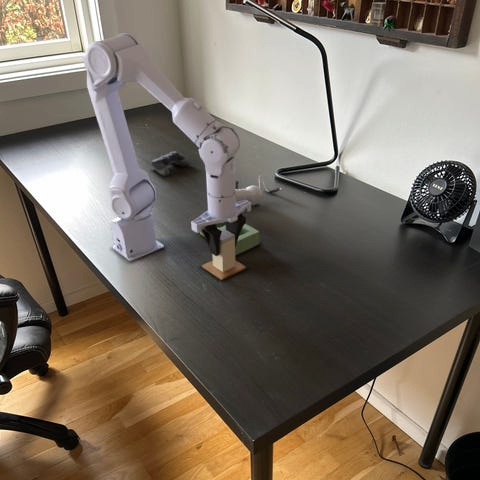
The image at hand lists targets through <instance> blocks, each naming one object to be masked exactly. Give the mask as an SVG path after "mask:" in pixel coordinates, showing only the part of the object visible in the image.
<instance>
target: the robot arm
mask: <svg viewBox="0 0 480 480" xmlns="http://www.w3.org/2000/svg"><path fill="white" fill-rule="evenodd" d="M149 55H150V54H149V52H148V50H147V48H146V47H145V46H144V45H143V44H142V43H140V42H139V41H138V39H137V38H136V37H135V36H134V35H132V34H131V33H129V32H122V33H119V34H118V35H115V36H112V37H109V38H105V39H103V40H95V41H92V42H91V43H89V45H88V46H87V48H86V50H85V51H84V54H83V55H82V61H83V65H84V67H85V71H86V87H87V91H88V95H89V97H90V100H91V104H92V107H93V111H94V113H95V117H96V121H97V124H98V127H99V130H100V133H101V137H102V139H103V142H104V143H103V144H104V146H105V149H106V153H107V156H108V159H109V163H110V166H111V169H112V173H113V176H112V179H111V182H110V183H109V187H108V191H109V193H110V201H109V202H110V207H111V209H112V212H113V213H114V214H115V215H116V216H117V217H115V218H114V219H112V220H111V221H110V223H109V224H110V225H109V226H110V232H111V233H110V234H111V237H112V242H113V246H112V248H113V250H114V251H116V252H117V253H119V254H120V255H121V256H123V257H124V258H125V259H126V260H127V261H129V262H132V261H135V260H138V259H139V258H142V257H144V256H147V255H149V254H151V253H154V252H156V251H159V250H160V249H164V247H165V245H164V244H163V243H162V242H160V241H158V240H157V238H156V231H155V223H154V215H153V208H154V207H153V203H154V202H155V201H156V199H157V190H156V187H155V186H154V184H153V183H152V181H151V179H150V177H149V173H148V172H147V171H146V170H143V169H141V168H140V166H139V163H138V159H137V156H136V152H135V148H134V145H133V142H132V137H131V134H130V131H129V126H128V123H127V119H126V115H125V112H124V108H123V105H122V101H121V98H120V94H119V90H120V88H121V87H122V85H123V83H138V84H139V85H141V87H143V89H145V90H147V91H148V93H149V94H151V95H152V96H153V97H154V98H155V99H157V100H158V101H159V102H160V103H161V104H163V106H164V107H166V108H167V109H168V110H169V111H170V112H171V115H172V123H174V125H176V126H177V127H178V128H179V129H180V131H182V132H183V134H184V135H186V136H187V138H189V139H190V140H191V142H193V144H195V145H196V146H197V147H198V155H199V157H200V159H201V160H202V162H203V164H204V167H205V168H204V169H205V170H204V171H205V176H206V177H205V178H206V198H207V210H206V211H204V212H203V213H202V214H201V215H199V216H198V217H197V218H195V219H193V220H191V221H190V226H191V230H192V231H193V232H195V233H196V234H200V233H199V232H202V233H203V235H204V236H203V235H202V236H203V237H204V238H205V240H206V243H207V245H208V248H209V252H210V254H211V255H212V254H213V255H215V256H218V255H219V242H220V237H221V233H222V231H221V230H219V229H217V226H216V224H217V223H222V222H225V226H226V230H227V231H229V232H231V233H232V234H234V235H235V248H236V244H237V241H238V237H239V234H240V232H241V230H242V228H243V226H244V224H246V223H247V217H246V216H244V215H243V213H245V212H246V213H249V212H251V211H252V205H251V202H249V201H247V200H243V201H239V202H236V185H235V181H236V156H235V155H236V154H237V153H238V151H239V149H240V146H241V141H240V137H239V135H238V133H237V132H236V131H235V129H234V128H233V127H231V126H229V125H228V124H227V125H225V124H222V123H221V122H220V121H217V120H216V119H215V118H214V117H213V116H212V115H211V114H210V113H209V111H207V109H205V108H204V103H202V101H200V100H196V99H195V98H194V97H185V96H184V95H182V93H181V92H180V91H179V90H178V89H177V88H176V86H175V85H174V84H173V83H172V82H171V80H169V78H167V76H166V75H165V74H164V73H163V72H162V70H161V69H160V68H159V67H158V66H157V65H156V64H155V63H154V61H153V60H152V59H151V58H150V56H149Z"/></svg>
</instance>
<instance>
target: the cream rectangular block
mask: <svg viewBox="0 0 480 480" xmlns="http://www.w3.org/2000/svg"><path fill="white" fill-rule="evenodd" d="M221 231H222V233H221V237H220V242H219V255H218V256H215V255H213V254H212V253H211V255H212V260H213V266H214V267H216V268H217V269H219V270H221V271H222V272H224V271H226V270H229V269H231V268H233V267H235V260H236V255H235V235H234V234H232V233H231V232H229V231H227V230H225V229H222V230H221Z"/></svg>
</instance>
